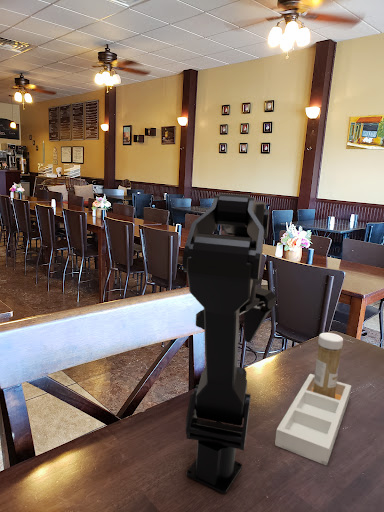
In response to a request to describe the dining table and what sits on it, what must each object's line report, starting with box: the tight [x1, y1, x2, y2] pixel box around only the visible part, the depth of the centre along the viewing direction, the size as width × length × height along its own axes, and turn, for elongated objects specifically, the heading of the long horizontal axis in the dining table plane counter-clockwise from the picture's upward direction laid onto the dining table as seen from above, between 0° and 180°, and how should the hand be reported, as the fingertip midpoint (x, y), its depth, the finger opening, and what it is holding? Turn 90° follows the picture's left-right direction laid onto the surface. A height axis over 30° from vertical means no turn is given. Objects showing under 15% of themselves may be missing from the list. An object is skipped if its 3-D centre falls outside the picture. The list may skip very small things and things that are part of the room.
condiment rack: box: [274, 373, 352, 466], centre depth 74 cm, size 24×8×3 cm, turn 150°
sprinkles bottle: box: [313, 332, 344, 399], centre depth 79 cm, size 5×5×13 cm
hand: (235, 350), depth 73 cm, fingers open, 9 cm apart
